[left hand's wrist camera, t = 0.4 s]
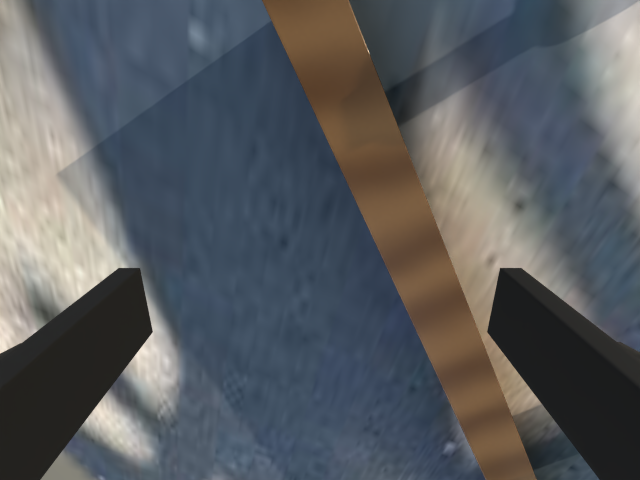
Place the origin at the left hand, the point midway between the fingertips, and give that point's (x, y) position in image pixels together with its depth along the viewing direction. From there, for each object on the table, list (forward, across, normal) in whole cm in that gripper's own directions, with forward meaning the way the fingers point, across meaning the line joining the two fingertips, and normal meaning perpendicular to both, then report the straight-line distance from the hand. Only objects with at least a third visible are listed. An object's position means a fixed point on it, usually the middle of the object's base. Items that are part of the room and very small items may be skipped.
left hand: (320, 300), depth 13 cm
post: (+24, +15, -18) cm, 34 cm away
